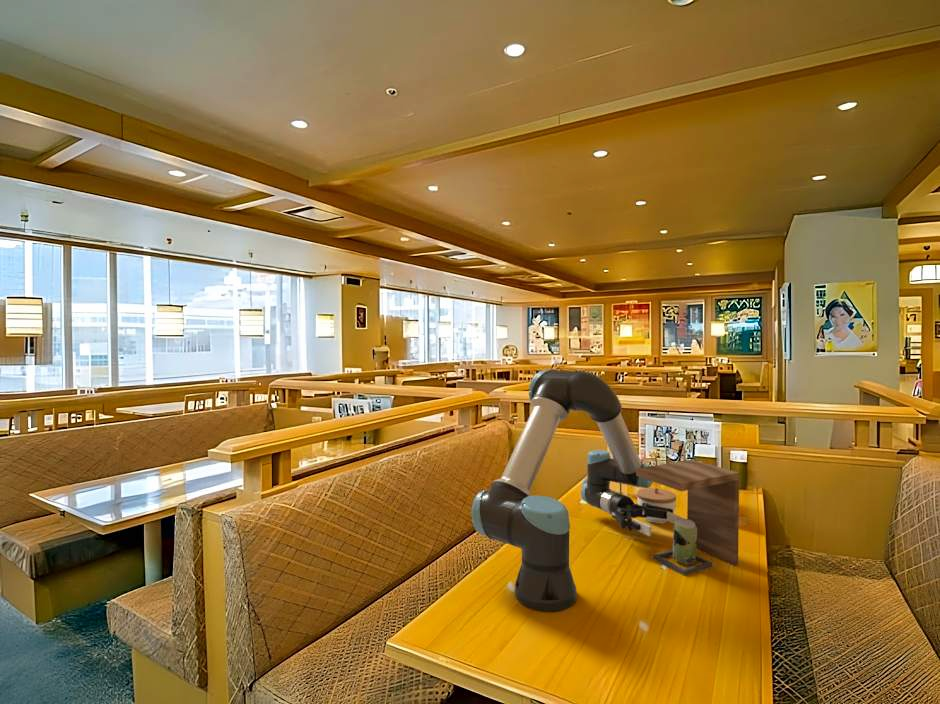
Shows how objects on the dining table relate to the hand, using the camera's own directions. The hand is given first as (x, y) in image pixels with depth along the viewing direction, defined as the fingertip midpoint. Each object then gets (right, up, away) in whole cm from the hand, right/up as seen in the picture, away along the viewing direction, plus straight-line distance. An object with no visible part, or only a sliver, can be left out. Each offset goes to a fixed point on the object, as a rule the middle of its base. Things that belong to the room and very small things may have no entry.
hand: (667, 527), depth 148 cm
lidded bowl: (+7, -7, +28) cm, 29 cm away
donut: (-10, -6, +48) cm, 49 cm away
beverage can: (+3, -8, -5) cm, 10 cm away
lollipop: (+3, -6, +57) cm, 57 cm away
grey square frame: (+2, -8, -5) cm, 10 cm away
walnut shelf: (+4, -8, -4) cm, 10 cm away
